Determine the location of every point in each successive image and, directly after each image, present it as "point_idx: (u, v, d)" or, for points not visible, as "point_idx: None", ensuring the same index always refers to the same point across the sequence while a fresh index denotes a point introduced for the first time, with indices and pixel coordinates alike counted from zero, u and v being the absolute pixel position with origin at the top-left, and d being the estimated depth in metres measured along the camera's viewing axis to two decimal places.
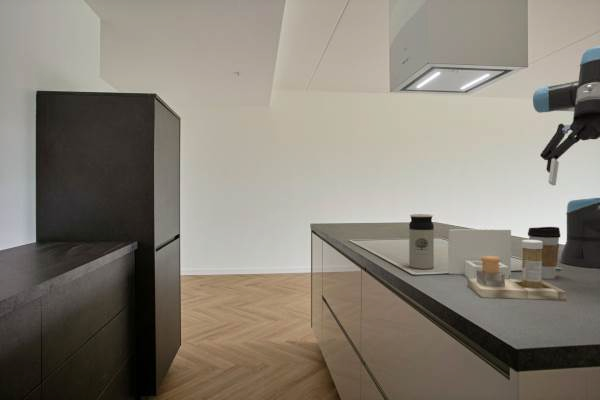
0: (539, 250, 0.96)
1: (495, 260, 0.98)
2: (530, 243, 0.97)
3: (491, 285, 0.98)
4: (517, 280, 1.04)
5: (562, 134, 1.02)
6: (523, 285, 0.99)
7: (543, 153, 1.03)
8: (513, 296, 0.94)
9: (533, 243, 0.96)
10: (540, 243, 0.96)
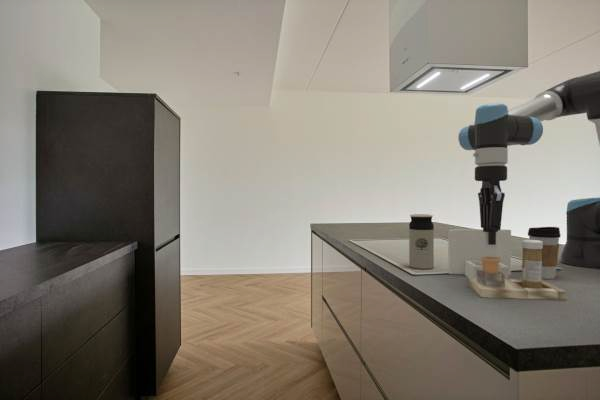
0: (539, 250, 0.96)
1: (495, 261, 0.98)
2: (530, 243, 0.97)
3: (491, 285, 0.98)
4: (517, 280, 1.04)
5: None
6: (523, 285, 0.99)
7: (481, 224, 1.03)
8: (513, 296, 0.94)
9: (533, 243, 0.96)
10: (540, 243, 0.96)
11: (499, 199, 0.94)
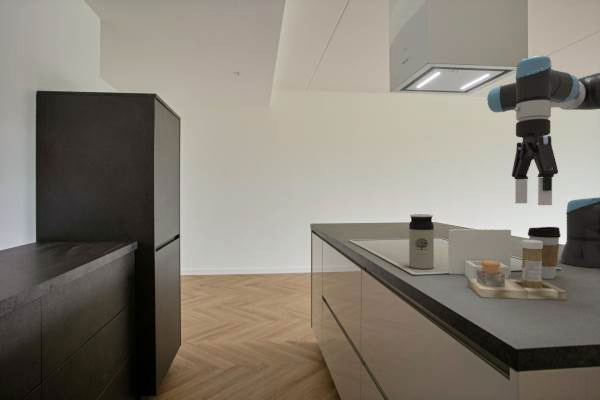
0: (539, 250, 0.96)
1: (495, 265, 0.98)
2: (530, 243, 0.97)
3: (491, 285, 0.98)
4: (517, 280, 1.04)
5: None
6: (523, 285, 0.99)
7: (512, 173, 1.07)
8: (513, 296, 0.94)
9: (533, 243, 0.96)
10: (540, 243, 0.96)
11: (546, 141, 0.91)
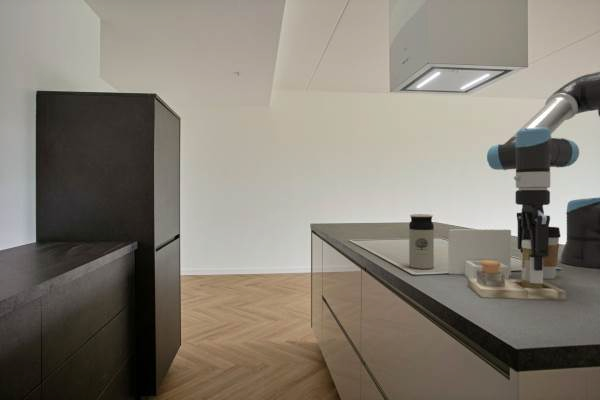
0: None
1: (495, 265, 0.98)
2: (530, 243, 0.97)
3: (491, 285, 0.98)
4: (517, 280, 1.04)
5: None
6: (523, 285, 0.99)
7: (518, 245, 1.04)
8: (513, 296, 0.94)
9: None
10: None
11: (545, 222, 0.92)
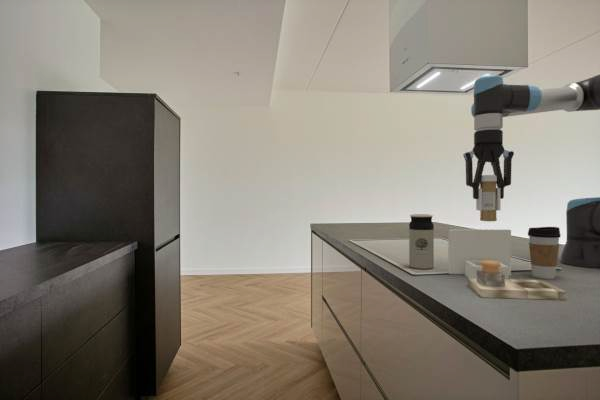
0: (482, 183, 1.13)
1: (495, 265, 0.98)
2: None
3: (491, 285, 0.98)
4: (517, 280, 1.04)
5: (505, 159, 1.12)
6: None
7: None
8: (513, 296, 0.94)
9: None
10: (482, 176, 1.12)
11: (466, 158, 1.14)
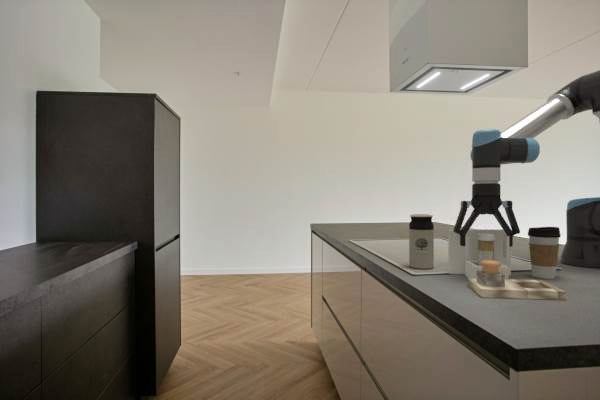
0: (480, 241, 1.14)
1: (495, 265, 0.98)
2: None
3: (491, 285, 0.98)
4: (517, 280, 1.04)
5: (506, 209, 1.13)
6: None
7: None
8: (513, 296, 0.94)
9: None
10: (480, 235, 1.14)
11: (462, 206, 1.15)
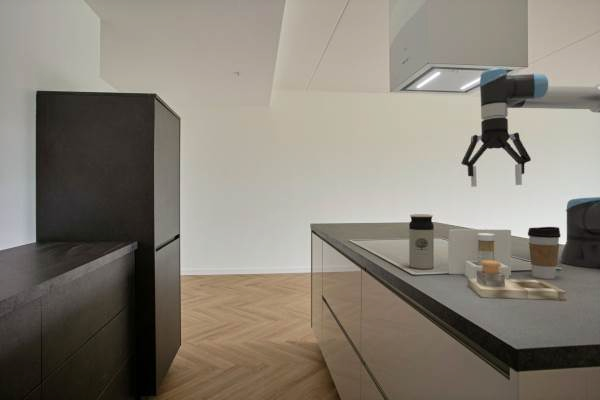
0: (480, 241, 1.14)
1: (495, 265, 0.98)
2: None
3: (491, 285, 0.98)
4: (517, 280, 1.04)
5: (514, 141, 1.22)
6: None
7: None
8: (513, 296, 0.94)
9: None
10: (480, 235, 1.13)
11: (472, 139, 1.23)
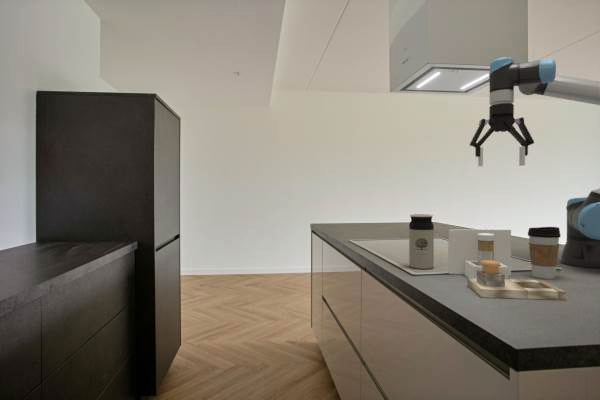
0: (480, 241, 1.14)
1: (495, 265, 0.98)
2: None
3: (491, 285, 0.98)
4: (517, 280, 1.04)
5: (519, 125, 1.34)
6: None
7: None
8: (513, 296, 0.94)
9: (477, 235, 1.15)
10: (480, 235, 1.13)
11: (480, 123, 1.35)
